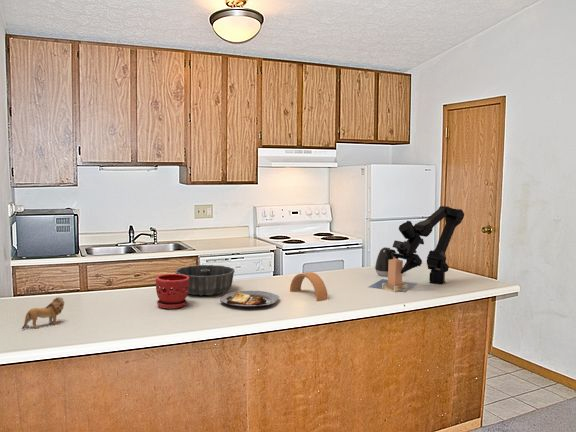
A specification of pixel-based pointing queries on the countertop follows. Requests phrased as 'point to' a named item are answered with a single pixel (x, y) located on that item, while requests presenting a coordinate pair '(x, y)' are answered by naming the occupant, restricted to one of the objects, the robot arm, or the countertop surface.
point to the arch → (316, 282)
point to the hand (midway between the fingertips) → (393, 271)
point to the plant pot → (172, 290)
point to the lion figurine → (45, 312)
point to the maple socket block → (394, 289)
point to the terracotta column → (395, 272)
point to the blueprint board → (379, 283)
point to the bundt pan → (207, 279)
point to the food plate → (244, 298)
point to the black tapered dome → (382, 263)
